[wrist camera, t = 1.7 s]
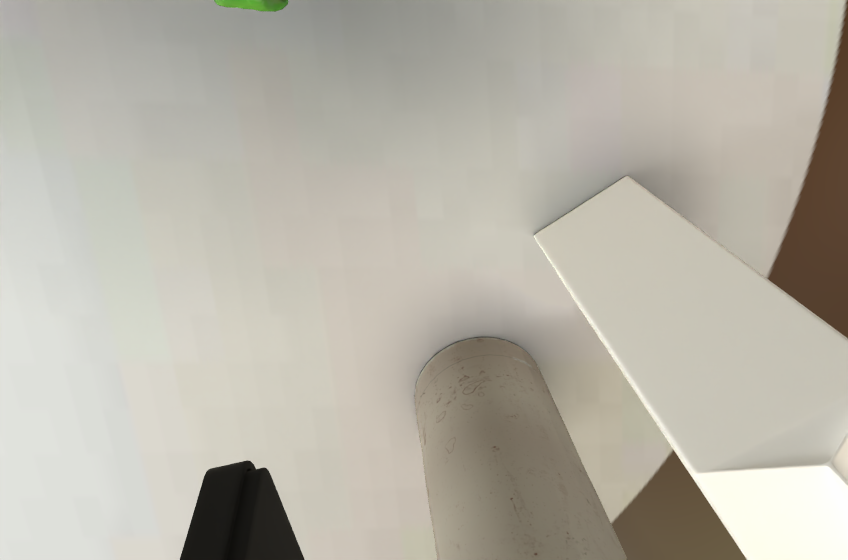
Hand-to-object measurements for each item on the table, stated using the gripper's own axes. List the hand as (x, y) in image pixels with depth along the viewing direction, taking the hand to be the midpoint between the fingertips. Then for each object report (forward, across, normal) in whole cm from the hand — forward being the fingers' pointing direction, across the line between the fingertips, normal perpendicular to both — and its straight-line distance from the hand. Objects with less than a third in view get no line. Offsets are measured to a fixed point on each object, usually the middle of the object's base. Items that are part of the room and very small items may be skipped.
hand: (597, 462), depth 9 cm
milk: (+25, -9, +9) cm, 28 cm away
